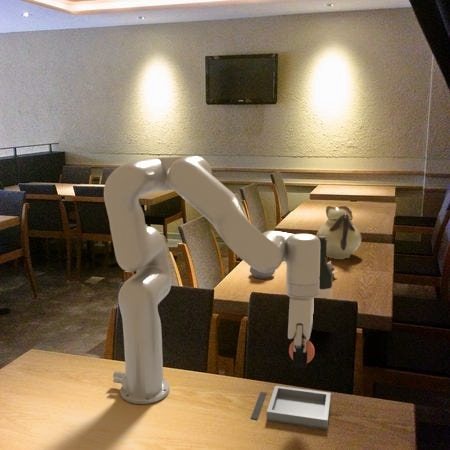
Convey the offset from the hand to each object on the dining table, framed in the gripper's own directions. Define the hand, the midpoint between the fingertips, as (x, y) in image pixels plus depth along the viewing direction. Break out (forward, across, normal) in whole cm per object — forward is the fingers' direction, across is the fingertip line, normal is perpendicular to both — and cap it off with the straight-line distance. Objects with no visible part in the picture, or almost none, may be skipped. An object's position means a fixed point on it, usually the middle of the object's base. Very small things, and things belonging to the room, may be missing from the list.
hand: (301, 359), depth 118 cm
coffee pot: (+14, -108, -28) cm, 112 cm away
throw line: (+13, 0, -10) cm, 17 cm away
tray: (+14, 0, 0) cm, 14 cm away
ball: (-2, 0, 0) cm, 2 cm away
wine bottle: (+14, -59, 0) cm, 61 cm away
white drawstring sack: (+14, -145, +3) cm, 146 cm away
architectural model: (+14, -108, 0) cm, 109 cm away
